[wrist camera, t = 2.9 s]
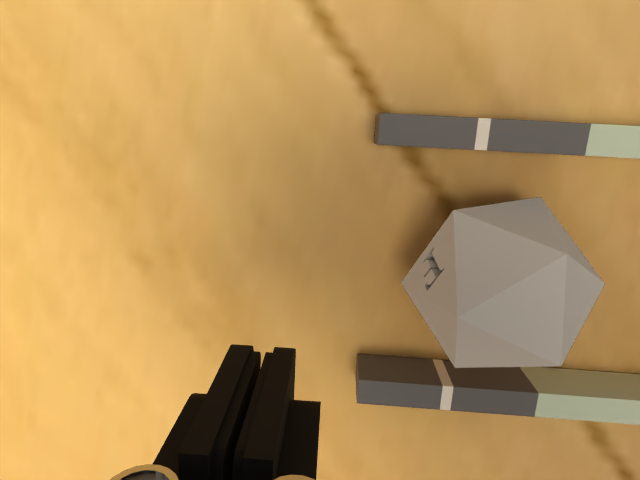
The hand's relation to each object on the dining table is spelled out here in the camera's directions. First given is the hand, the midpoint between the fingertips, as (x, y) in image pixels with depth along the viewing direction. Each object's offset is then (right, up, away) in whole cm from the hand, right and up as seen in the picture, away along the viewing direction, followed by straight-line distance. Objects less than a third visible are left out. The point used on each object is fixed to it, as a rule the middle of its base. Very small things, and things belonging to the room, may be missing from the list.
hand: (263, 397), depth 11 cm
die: (+11, +3, +15) cm, 18 cm away
